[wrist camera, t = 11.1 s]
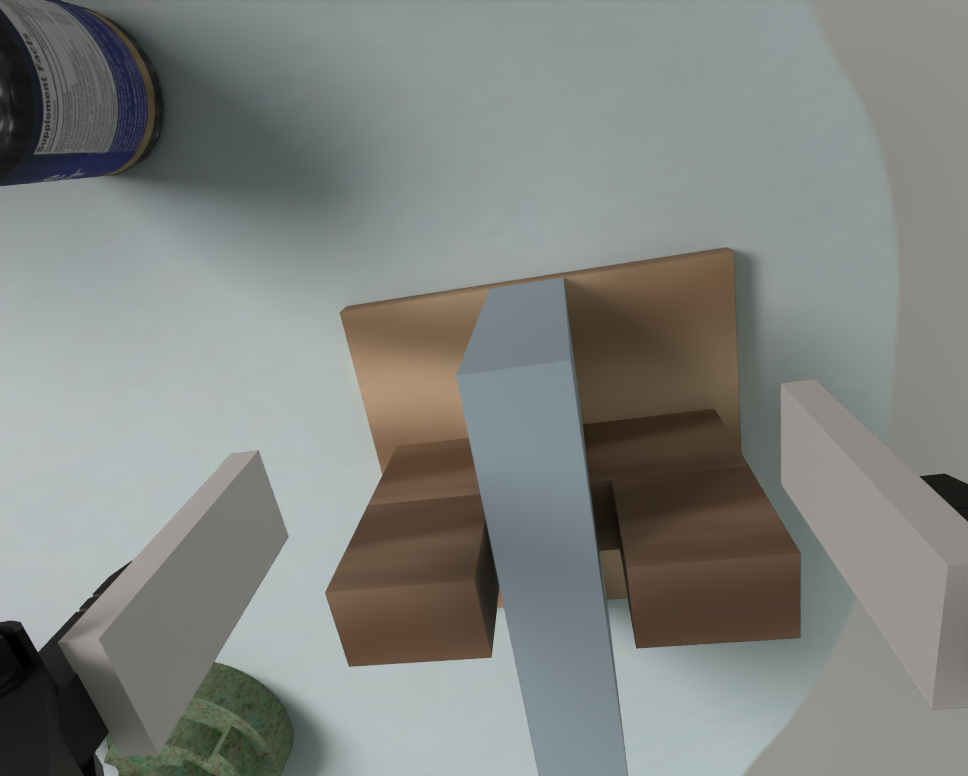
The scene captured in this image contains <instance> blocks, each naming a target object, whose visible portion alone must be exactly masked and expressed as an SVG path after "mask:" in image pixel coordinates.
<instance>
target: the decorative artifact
mask: <svg viewBox="0 0 968 776" xmlns="http://www.w3.org/2000/svg"><path fill="white" fill-rule="evenodd" d="M107 745H108V750H109V751H108V753H107V754H106V757H105V760H104V763H107V764H110V765H113V766H116V768H117V769H118V771H119V776H281V774H282V771H283V769H284V766H285V764H286V762H287V759H288V757H289V754H290V752H291V749H292V745H293V728H292V725H291V721H290V719H289V716H288V714H287V712H286V710H285V709H284V707H283V706H282V704H281V703H280V701H279V700H278V699H277V698H276V697H275V696H274V694H273V693H272V692H271V691H269V690H268V689H267V688H266V687H265V686H264V685H262V684H261V683H260V682H258V681H257V680H255V679H254V678H252V677H251V676H249V675H247V674H245V673H243V672H241V671H239V670H237V669H235V668H232V667H230V666H227V665H224V664H220V663H216V662H214V663H213V664H212V666H211V668H210V669H209V671H208V673H207V674H206V676H205V678H204V679H203V681H202V683H201V684H200V686H199V688H198V689H197V691H196V693H195V694H194V696H193V698H192V699H191V701H190V703H189V704H188V706H187V708H186V709H185V711H184V713H183V714H182V716H181V718H180V719H179V721H178V723H177V724H176V726H175V728H174V729H173V731H172V733H171V734H170V736H169V738H168V739H167V741H166V743H165V745H164V746H163V748H162V750H161V751H160V753H159V755H142V756H125V757H121V756H120V754H119V753H118V751H117V749H116V747H115V745H114V744H113V742H112V740H111V738H110V736H109V735H108V734H107Z"/></svg>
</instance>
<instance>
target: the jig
mask: <svg viewBox="0 0 968 776" xmlns="http://www.w3.org/2000/svg"><path fill="white" fill-rule="evenodd" d="M556 278H563V279H564V287H565V294H566V302H567V309H568V316H569V324H570V331H571V338H572V346H573V353H574V361H575V368H576V375H577V383H578V390H579V398H580V405H581V413H582V422H583V431H584V440H585V449H586V458H587V467H588V474H589V482H590V489H591V496H592V504H593V511H594V518H595V526H596V533H597V540H598V548H599V551H600V553H601V560H602V568H603V575H604V582H605V590H606V597H607V600H608V599H621V598H628V602H629V608H630V614H631V620H632V626H633V632H634V638H635V644H636V648H650V647H666V646H682V645H697V644H713V643H729V642H744V641H760V640H776V639H792V638H800V552H799V550H798V548H797V547H796V545H795V543H794V542H793V540H792V538H791V537H790V535H789V533H788V531H787V530H786V528H785V526H784V525H783V523H782V521H781V520H780V518H779V516H778V515H777V513H776V511H775V510H774V508H773V506H772V505H771V503H770V501H769V499H768V498H767V496H766V494H765V493H764V491H763V489H762V488H761V486H760V484H759V483H758V481H757V479H756V478H755V476H754V474H753V473H752V471H751V469H750V467H749V466H748V464H747V462H746V461H745V459H744V457H743V456H742V454H741V437H740V410H739V383H738V356H737V328H736V301H735V274H734V252H733V251H732V250H730V249H729V248H721V249H714V250H708V251H701V252H695V253H688V254H682V255H675V256H669V257H662V258H656V259H650V260H643V261H637V262H630V263H624V264H617V265H611V266H604V267H598V268H591V269H585V270H578V271H572V272H566V273H559V274H553V275H546V276H540V277H533V278H527V279H520V280H514V281H507V282H501V283H494V284H488V285H482V286H475V287H469V288H462V289H456V290H449V291H443V292H436V293H430V294H423V295H417V296H410V297H404V298H398V299H391V300H385V301H378V302H372V303H365V304H359V305H352V306H347V307H345V308H344V309H343V310H342V311H341V312H340V315H341V319H342V323H343V326H344V330H345V334H346V338H347V342H348V345H349V349H350V353H351V357H352V361H353V364H354V368H355V372H356V376H357V380H358V383H359V387H360V391H361V395H362V399H363V402H364V406H365V410H366V414H367V418H368V421H369V425H370V429H371V433H372V436H373V440H374V444H375V448H376V452H377V455H378V459H379V463H380V467H381V471H382V474H383V475H382V477H381V479H380V481H379V483H378V486H377V488H376V490H375V492H374V494H373V496H372V498H371V500H370V502H369V504H368V506H367V508H366V510H365V512H364V514H363V516H362V518H361V520H360V522H359V524H358V526H357V528H356V531H355V533H354V535H353V537H352V539H351V541H350V543H349V545H348V547H347V549H346V551H345V553H344V555H343V557H342V559H341V561H340V563H339V565H338V567H337V569H336V571H335V573H334V575H333V578H332V580H331V582H330V584H329V586H328V588H327V590H326V592H325V594H326V597H327V600H328V603H329V606H330V609H331V612H332V616H333V619H334V622H335V625H336V628H337V631H338V634H339V637H340V640H341V643H342V646H343V649H344V653H345V656H346V659H347V662H348V665H349V667H351V666H367V665H383V664H398V663H414V662H430V661H445V660H461V659H477V658H491V657H492V648H493V639H494V631H495V622H496V613H497V608H502V607H504V605H503V600H502V596H501V591H500V586H499V581H498V576H497V571H496V567H495V562H494V557H493V552H492V547H491V542H490V538H489V533H488V528H487V523H486V518H485V513H484V509H483V504H482V499H481V494H480V489H479V484H478V480H477V475H476V470H475V465H474V460H473V455H472V451H471V446H470V441H469V436H468V431H467V426H466V422H465V417H464V412H463V407H462V402H461V397H460V393H459V388H458V383H457V378H456V374H457V372H458V369H459V367H460V364H461V361H462V359H463V356H464V354H465V351H466V349H467V346H468V343H469V341H470V338H471V336H472V333H473V330H474V328H475V325H476V323H477V320H478V318H479V315H480V312H481V310H482V307H483V305H484V302H485V300H486V297H487V294H488V292H489V289H492V288H499V287H505V286H512V285H518V284H524V283H531V282H537V281H544V280H550V279H556Z"/></svg>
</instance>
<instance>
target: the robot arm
mask: <svg viewBox="0 0 968 776" xmlns="http://www.w3.org/2000/svg"><path fill="white" fill-rule="evenodd" d="M781 485H782V486H783V488H784V489H785V491H786V492H787V494H788V495H789V497H790V498H791V500H792V501H793V503H794V504H795V506H796V507H797V509H798V510H799V512H800V513H801V515H802V516H803V518H804V519H805V521H806V522H807V524H808V525H809V527H810V528H811V530H812V531H813V533H814V534H815V536H816V537H817V539H818V540H819V542H820V543H821V545H822V546H823V548H824V549H825V551H826V552H827V554H828V555H829V557H830V558H831V560H832V561H833V563H834V564H835V566H836V567H837V569H838V570H839V572H840V573H841V575H842V576H843V578H844V579H845V581H846V582H847V584H848V585H849V587H850V588H851V590H852V591H853V593H854V594H855V596H856V597H857V599H858V600H859V602H860V603H861V605H862V606H863V608H864V609H865V611H866V612H867V614H868V615H869V617H870V618H871V620H872V621H873V623H874V624H875V626H876V627H877V629H878V630H879V632H880V633H881V635H882V636H883V638H884V639H885V641H886V642H887V644H888V645H889V647H890V648H891V650H892V651H893V653H894V654H895V656H896V657H897V659H898V660H899V662H900V663H901V665H902V666H903V668H904V669H905V671H906V672H907V674H908V675H909V677H910V678H911V680H912V681H913V683H914V684H915V686H916V687H917V689H918V690H919V692H920V693H921V695H922V696H923V698H924V699H925V701H926V702H927V704H928V705H929V707H930V708H931V710H936V709H955V708H968V484H966V483H964V482H962V481H960V480H958V479H956V478H953V477H951V476H949V475H947V474H937V475H927V476H918V475H917V474H916V473H915V472H914V471H913V470H912V469H911V468H910V467H909V466H908V465H907V464H905V463H904V462H903V461H902V460H901V459H900V458H899V457H898V456H897V455H896V454H895V453H893V451H892V450H890V449H889V448H888V447H887V446H886V445H885V444H884V443H883V442H882V441H881V440H880V439H879V438H878V437H877V436H876V435H874V434H873V433H872V432H871V431H870V430H869V429H868V428H867V427H866V426H865V425H864V424H863V423H862V422H861V421H860V420H858V419H857V418H856V417H855V416H854V415H853V414H852V413H851V412H850V411H849V410H848V409H847V408H846V407H845V406H844V405H842V404H841V403H840V402H839V401H838V400H837V399H836V398H835V397H834V396H833V395H832V394H831V393H830V392H829V391H828V390H826V389H825V388H824V387H823V386H822V385H821V384H820V383H819V382H818V381H817V380H816V379H811V380H803V381H795V382H787V383H781ZM288 537H289V536H288V533H287V531H286V528H285V525H284V522H283V519H282V516H281V513H280V510H279V508H278V505H277V502H276V499H275V496H274V493H273V490H272V488H271V485H270V482H269V479H268V476H267V473H266V470H265V468H264V465H263V462H262V459H261V456H260V453H259V450H255V451H248V452H240V453H232V454H231V455H230V456H229V457H228V458H227V459H226V460H225V461H224V462H223V463H222V464H221V465H220V467H219V468H218V469H217V470H216V471H215V472H214V473H213V474H212V475H211V476H210V477H209V479H208V480H207V481H206V482H205V483H204V484H203V485H202V486H201V487H200V488H199V489H198V490H197V492H196V493H195V494H194V495H193V496H192V497H191V498H190V499H189V500H188V501H187V502H186V504H185V505H184V506H183V507H182V508H181V509H180V510H179V511H178V512H177V513H176V514H175V516H174V517H173V518H172V519H171V520H170V521H169V522H168V523H167V524H166V525H165V526H164V528H163V529H162V530H161V531H160V532H159V533H158V534H157V535H156V536H155V537H154V538H153V539H152V541H151V542H150V543H149V544H148V545H147V546H146V547H145V548H144V549H143V550H142V551H141V553H140V554H139V555H138V556H137V557H136V558H135V559H134V560H133V561H131V562H129V563H128V564H126V565H125V566H124V567H122V568H121V569H119V570H118V571H117V572H115V573H114V574H112V575H111V576H110V577H108V578H107V580H106V581H105V582H104V583H103V584H102V585H101V586H100V587H99V588H98V589H97V590H96V591H95V592H94V593H93V597H92V598H89V599H88V600H87V601H86V602H85V603H84V604H83V605H82V606H81V607H80V608H79V609H80V611H79V612H76V613H75V614H74V615H73V616H72V617H71V618H70V619H69V620H68V621H67V622H66V623H65V624H64V625H63V626H62V628H61V629H60V630H59V631H58V632H57V633H56V634H55V635H54V636H53V637H52V638H51V639H50V640H49V641H48V642H47V643H46V645H45V646H44V647H43V648H42V649H41V650H40V651H39V652H37V650H36V648H35V647H34V645H33V643H32V641H31V640H30V638H29V636H28V634H27V633H26V631H25V629H24V627H23V626H22V624H21V622H17V621H5V622H0V776H104V771H103V766H102V764H101V762H100V760H99V759H98V757H97V755H96V753H95V751H96V750H97V749H98V747H99V746H100V744H101V743H102V741H103V740H104V739H105V737H106V736H107V734H108V735H109V736H110V738H111V740H112V742H113V744H114V745H115V747H116V749H117V751H118V753H119V754H120V756H121V757H125V756H142V755H159V753H160V751H161V750H162V748H163V746H164V745H165V743H166V741H167V739H168V738H169V736H170V734H171V733H172V731H173V729H174V728H175V726H176V724H177V723H178V721H179V719H180V718H181V716H182V714H183V713H184V711H185V709H186V708H187V706H188V704H189V703H190V701H191V699H192V698H193V696H194V694H195V693H196V691H197V689H198V688H199V686H200V684H201V683H202V681H203V679H204V678H205V676H206V674H207V673H208V671H209V669H210V668H211V666H212V664H213V663H214V661H215V659H216V658H217V656H218V654H219V653H220V651H221V649H222V648H223V646H224V644H225V642H226V641H227V639H228V637H229V636H230V634H231V632H232V631H233V629H234V627H235V626H236V624H237V622H238V621H239V619H240V617H241V616H242V614H243V612H244V611H245V609H246V607H247V606H248V604H249V602H250V601H251V599H252V597H253V596H254V594H255V592H256V591H257V589H258V587H259V586H260V584H261V582H262V581H263V579H264V577H265V576H266V574H267V572H268V571H269V569H270V567H271V566H272V564H273V562H274V561H275V559H276V557H277V556H278V554H279V552H280V551H281V549H282V547H283V545H284V544H285V542H286V540H287V539H288Z"/></svg>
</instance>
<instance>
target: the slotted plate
mask: <svg viewBox="0 0 968 776" xmlns="http://www.w3.org/2000/svg"><path fill="white" fill-rule="evenodd" d="M456 378H457V383H458V388H459V393H460V397H461V402H462V407H463V412H464V417H465V422H466V426H467V431H468V436H469V441H470V446H471V451H472V455H473V460H474V465H475V470H476V475H477V480H478V484H479V489H480V494H481V499H482V504H483V509H484V513H485V518H486V523H487V528H488V533H489V538H490V542H491V547H492V552H493V557H494V562H495V567H496V571H497V576H498V581H499V586H500V591H501V596H502V600H503V605H504V610H505V615H506V620H507V625H508V629H509V634H510V639H511V644H512V649H513V654H514V658H515V663H516V668H517V673H518V678H519V683H520V687H521V692H522V697H523V702H524V707H525V712H526V716H527V721H528V726H529V731H530V736H531V741H532V745H533V750H534V755H535V760H536V765H537V770H538V774H539V776H628V771H627V762H626V754H625V746H624V738H623V729H622V721H621V713H620V705H619V696H618V688H617V680H616V671H615V663H614V655H613V647H612V638H611V630H610V622H609V613H608V605H607V597H606V590H605V582H604V575H603V568H602V560H601V553H600V551H599V548H598V540H597V533H596V526H595V518H594V511H593V504H592V496H591V489H590V482H589V474H588V467H587V458H586V449H585V440H584V431H583V422H582V413H581V405H580V398H579V390H578V383H577V375H576V368H575V361H574V353H573V346H572V338H571V331H570V324H569V316H568V309H567V302H566V294H565V287H564V279H563V278H556V279H550V280H544V281H537V282H531V283H524V284H518V285H512V286H505V287H499V288H492V289H489V292H488V294H487V297H486V300H485V302H484V305H483V307H482V310H481V312H480V315H479V318H478V320H477V323H476V325H475V328H474V330H473V333H472V336H471V338H470V341H469V343H468V346H467V349H466V351H465V354H464V356H463V359H462V361H461V364H460V367H459V369H458V372H457V374H456Z"/></svg>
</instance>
